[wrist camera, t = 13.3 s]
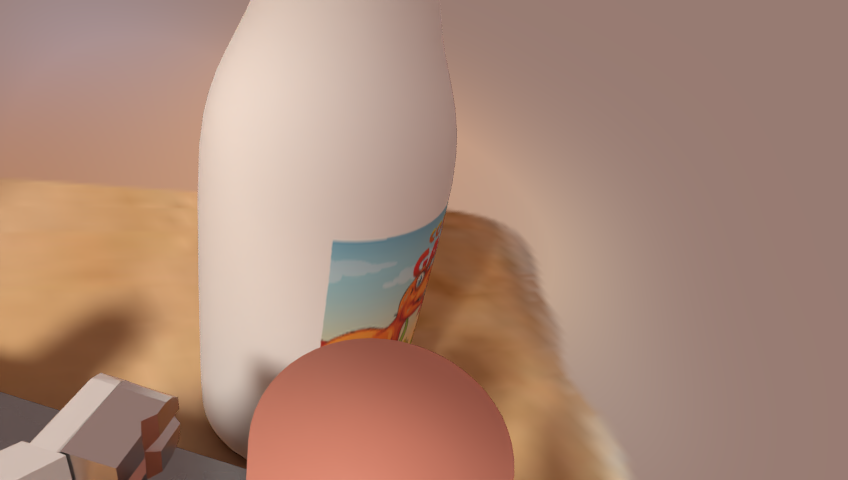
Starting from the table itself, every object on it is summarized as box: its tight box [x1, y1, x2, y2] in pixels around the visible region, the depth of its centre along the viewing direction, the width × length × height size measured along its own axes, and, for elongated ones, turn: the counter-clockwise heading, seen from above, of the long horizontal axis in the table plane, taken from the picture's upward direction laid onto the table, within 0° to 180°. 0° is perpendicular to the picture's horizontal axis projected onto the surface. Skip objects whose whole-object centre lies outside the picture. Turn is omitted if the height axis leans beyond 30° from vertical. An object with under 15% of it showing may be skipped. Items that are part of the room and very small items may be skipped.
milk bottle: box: [198, 0, 457, 460], centre depth 18 cm, size 8×8×20 cm
